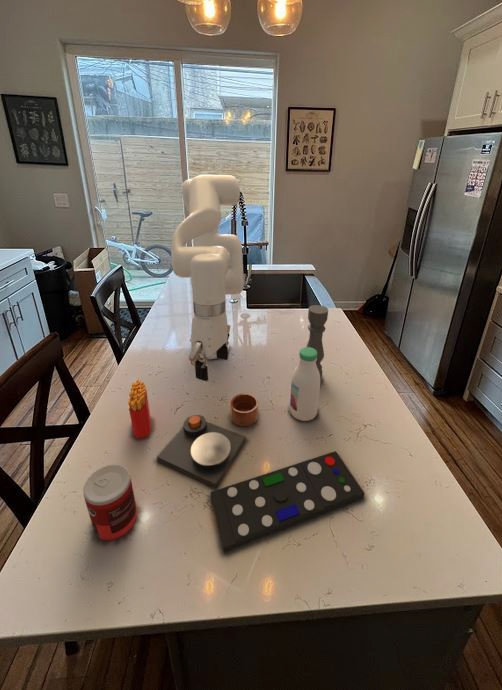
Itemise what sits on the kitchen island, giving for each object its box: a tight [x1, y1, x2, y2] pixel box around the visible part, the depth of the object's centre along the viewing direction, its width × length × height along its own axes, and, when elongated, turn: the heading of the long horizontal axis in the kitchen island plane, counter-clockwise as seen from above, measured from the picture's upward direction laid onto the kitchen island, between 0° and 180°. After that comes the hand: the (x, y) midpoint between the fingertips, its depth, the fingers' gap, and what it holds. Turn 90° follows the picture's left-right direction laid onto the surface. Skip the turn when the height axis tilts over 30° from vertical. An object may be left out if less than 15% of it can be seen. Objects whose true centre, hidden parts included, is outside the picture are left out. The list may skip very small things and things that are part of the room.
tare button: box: [189, 415, 201, 428], centre depth 84 cm, size 3×3×2 cm
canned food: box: [82, 464, 138, 542], centre depth 62 cm, size 8×8×11 cm
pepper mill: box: [306, 304, 329, 384], centre depth 101 cm, size 6×6×25 cm
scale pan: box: [191, 432, 231, 467], centre depth 76 cm, size 9×9×1 cm
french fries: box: [127, 378, 152, 439], centre depth 83 cm, size 9×4×13 cm, turn 18°
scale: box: [156, 414, 247, 489], centre depth 79 cm, size 16×14×3 cm
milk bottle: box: [289, 347, 321, 422], centre depth 89 cm, size 8×8×20 cm
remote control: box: [210, 450, 365, 553], centre depth 69 cm, size 11×30×2 cm, turn 111°
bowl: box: [229, 392, 259, 427], centre depth 89 cm, size 7×7×5 cm
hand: (212, 368), depth 83 cm, fingers open, 9 cm apart
